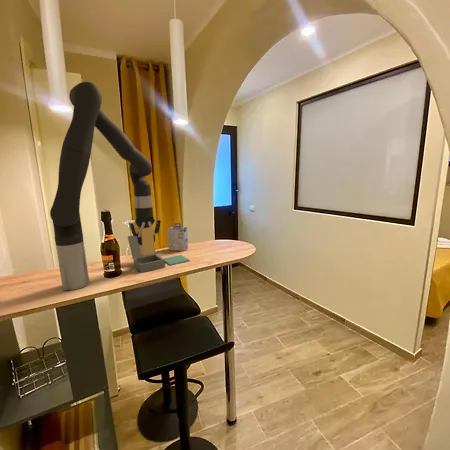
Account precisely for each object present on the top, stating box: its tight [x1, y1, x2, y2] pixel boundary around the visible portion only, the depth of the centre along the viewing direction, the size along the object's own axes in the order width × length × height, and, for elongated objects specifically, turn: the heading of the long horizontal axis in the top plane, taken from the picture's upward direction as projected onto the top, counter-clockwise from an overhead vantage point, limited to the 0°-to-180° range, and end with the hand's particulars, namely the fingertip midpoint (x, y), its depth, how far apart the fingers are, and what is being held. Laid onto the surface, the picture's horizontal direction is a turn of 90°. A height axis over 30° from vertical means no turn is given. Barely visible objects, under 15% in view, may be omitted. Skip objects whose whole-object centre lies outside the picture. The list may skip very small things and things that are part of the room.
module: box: [139, 226, 156, 255], centre depth 122 cm, size 5×5×12 cm
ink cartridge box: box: [166, 222, 189, 252], centre depth 149 cm, size 10×6×14 cm, turn 78°
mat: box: [163, 254, 191, 266], centre depth 132 cm, size 10×10×1 cm
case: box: [132, 253, 166, 273], centre depth 124 cm, size 11×11×4 cm
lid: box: [127, 235, 157, 259], centre depth 131 cm, size 11×11×2 cm
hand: (146, 243), depth 123 cm, fingers closed on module, 5 cm apart
